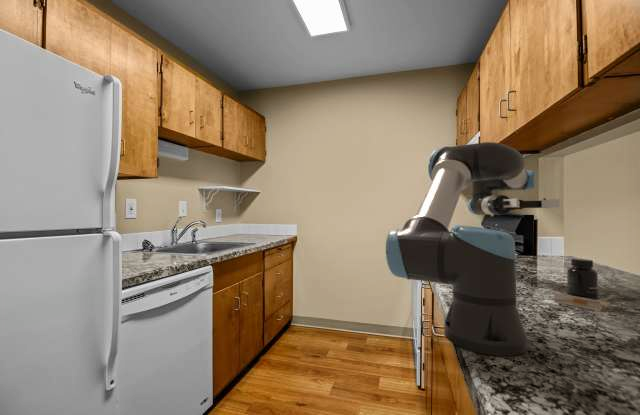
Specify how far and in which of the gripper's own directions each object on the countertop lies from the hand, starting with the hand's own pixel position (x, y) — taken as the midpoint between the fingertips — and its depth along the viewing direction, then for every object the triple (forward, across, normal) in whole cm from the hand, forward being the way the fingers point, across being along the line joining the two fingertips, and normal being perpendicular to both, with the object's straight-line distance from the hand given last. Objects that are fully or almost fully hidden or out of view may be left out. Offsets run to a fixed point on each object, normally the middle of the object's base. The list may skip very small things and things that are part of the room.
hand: (538, 202), depth 98 cm
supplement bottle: (+9, -6, -29) cm, 31 cm away
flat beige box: (+9, -6, -30) cm, 31 cm away
